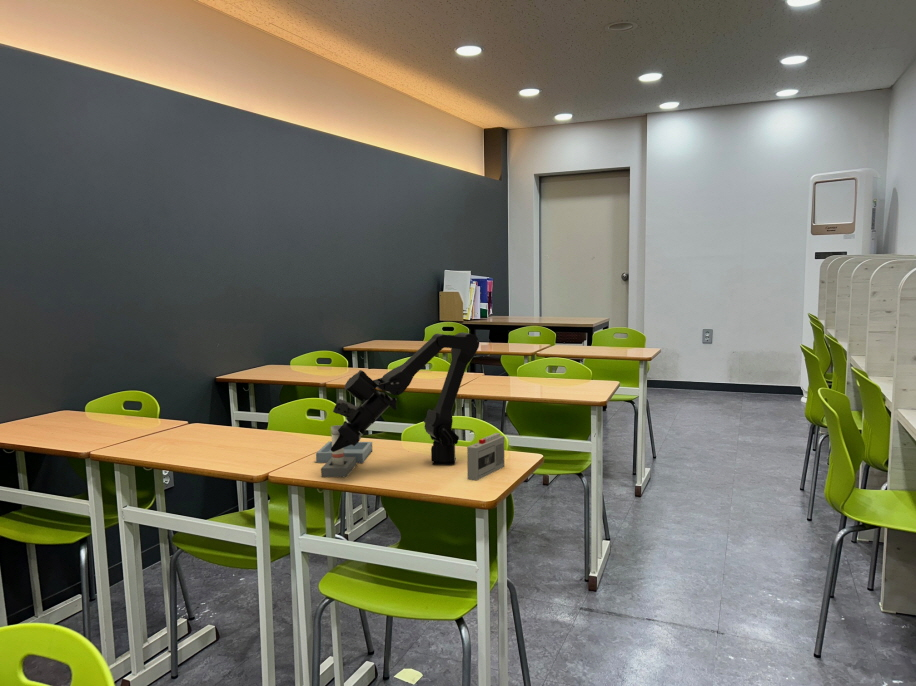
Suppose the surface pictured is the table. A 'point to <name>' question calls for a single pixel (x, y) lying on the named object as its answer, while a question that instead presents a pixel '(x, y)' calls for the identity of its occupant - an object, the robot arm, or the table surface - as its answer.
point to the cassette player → (485, 456)
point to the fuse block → (338, 468)
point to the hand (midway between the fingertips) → (332, 449)
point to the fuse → (339, 454)
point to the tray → (346, 452)
